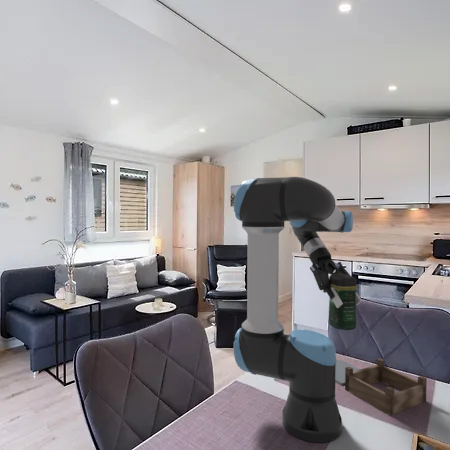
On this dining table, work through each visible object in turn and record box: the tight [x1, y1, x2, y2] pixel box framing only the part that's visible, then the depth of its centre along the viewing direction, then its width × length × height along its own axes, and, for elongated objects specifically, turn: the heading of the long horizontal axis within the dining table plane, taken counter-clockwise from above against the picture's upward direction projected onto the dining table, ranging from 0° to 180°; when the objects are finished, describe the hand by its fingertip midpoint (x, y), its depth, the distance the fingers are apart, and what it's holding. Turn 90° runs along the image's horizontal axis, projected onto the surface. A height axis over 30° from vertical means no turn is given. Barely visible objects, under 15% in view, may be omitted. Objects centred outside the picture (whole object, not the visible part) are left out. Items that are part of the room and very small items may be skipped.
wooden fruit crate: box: [344, 357, 428, 416], centre depth 105 cm, size 16×16×7 cm
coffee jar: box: [327, 272, 358, 331], centre depth 120 cm, size 10×8×19 cm
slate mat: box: [335, 359, 361, 386], centre depth 121 cm, size 14×14×1 cm
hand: (349, 304), depth 117 cm, fingers closed on coffee jar, 8 cm apart
